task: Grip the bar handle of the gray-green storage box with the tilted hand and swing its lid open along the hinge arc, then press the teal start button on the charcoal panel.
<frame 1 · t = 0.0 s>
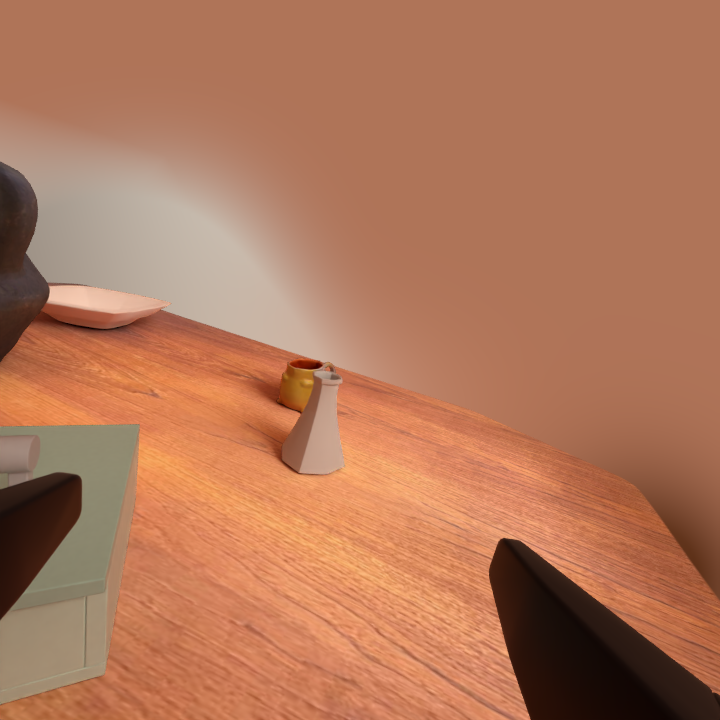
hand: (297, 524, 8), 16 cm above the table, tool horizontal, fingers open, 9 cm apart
mug: (310, 402, 57), on the table
bowl: (96, 325, 74), on the table
flask: (312, 460, 40), on the table
gray-green storage box: (3, 585, 20), on the table
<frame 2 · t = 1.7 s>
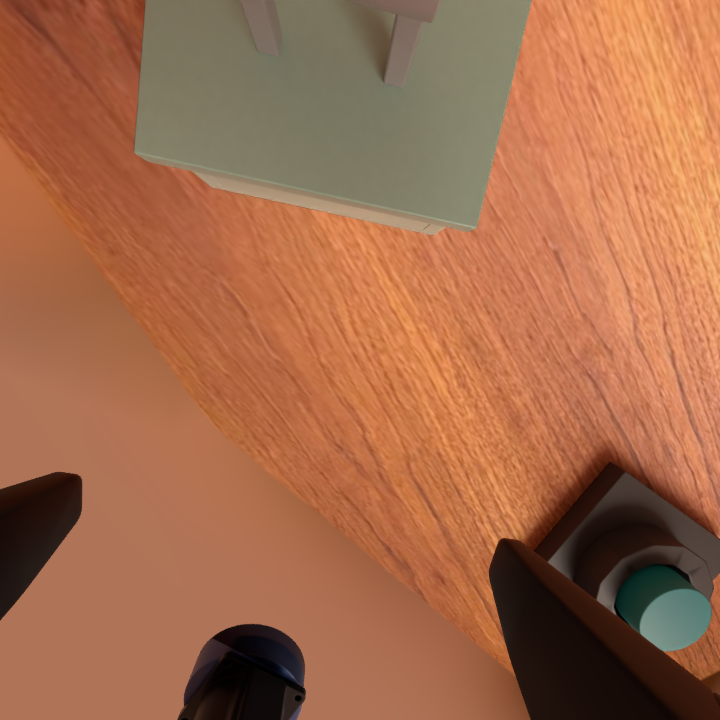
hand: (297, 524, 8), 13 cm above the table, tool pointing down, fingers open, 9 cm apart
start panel: (614, 560, 23), on the table
gray-green storage box: (350, 65, 17), on the table
start button: (661, 606, 20), point 3 cm above the table, slide at 0.1 cm
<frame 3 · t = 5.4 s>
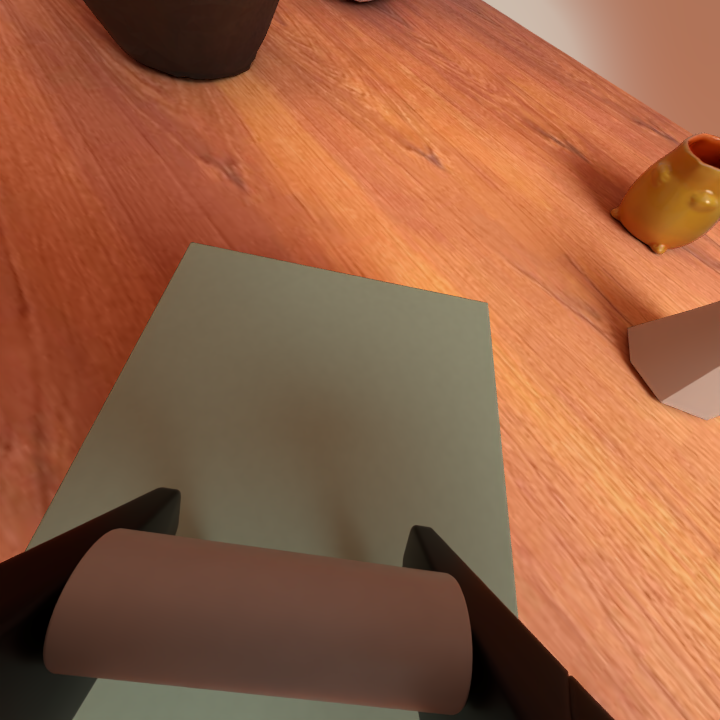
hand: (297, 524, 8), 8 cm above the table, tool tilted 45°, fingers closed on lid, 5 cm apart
mug: (662, 224, 32), on the table
lid: (312, 437, 8), point 9 cm above the table, hinge at 0.0°, touching gripper
flask: (673, 370, 23), on the table
pitcher: (203, 60, 34), on the table
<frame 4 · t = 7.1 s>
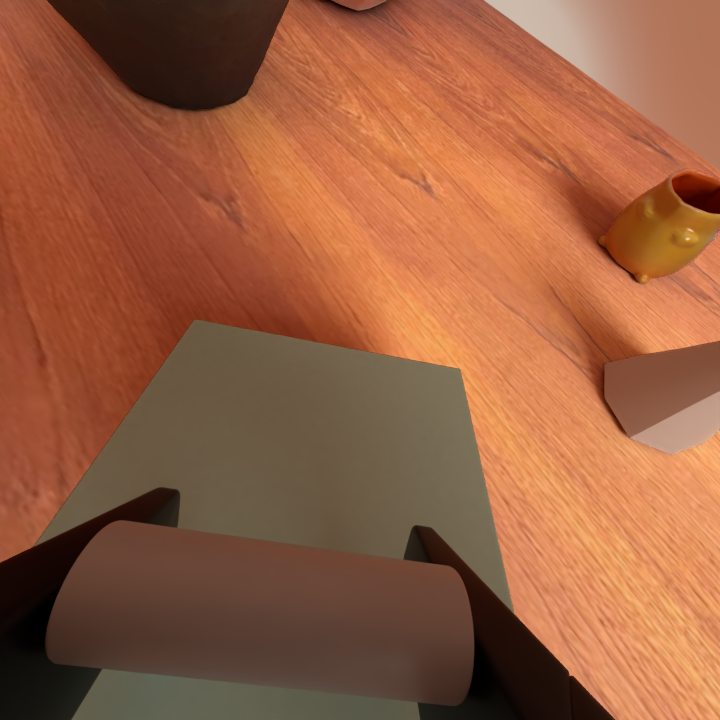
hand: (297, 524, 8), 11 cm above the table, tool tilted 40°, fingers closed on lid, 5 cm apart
mug: (649, 250, 33), on the table
lid: (306, 471, 9), point 11 cm above the table, hinge at 19.6°, touching gripper
flask: (645, 404, 25), on the table
pitcher: (202, 85, 34), on the table
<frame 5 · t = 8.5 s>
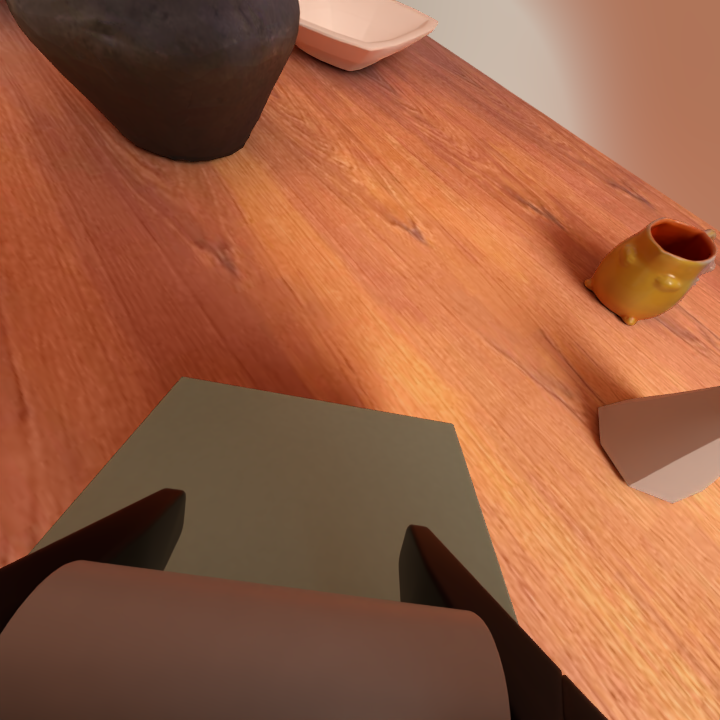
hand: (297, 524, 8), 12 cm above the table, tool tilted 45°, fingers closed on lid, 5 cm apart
mug: (634, 292, 34), on the table
lid: (297, 523, 8), point 12 cm above the table, hinge at 27.3°, touching gripper
bowl: (340, 59, 53), on the table
flask: (641, 449, 25), on the table
pitcher: (200, 138, 36), on the table
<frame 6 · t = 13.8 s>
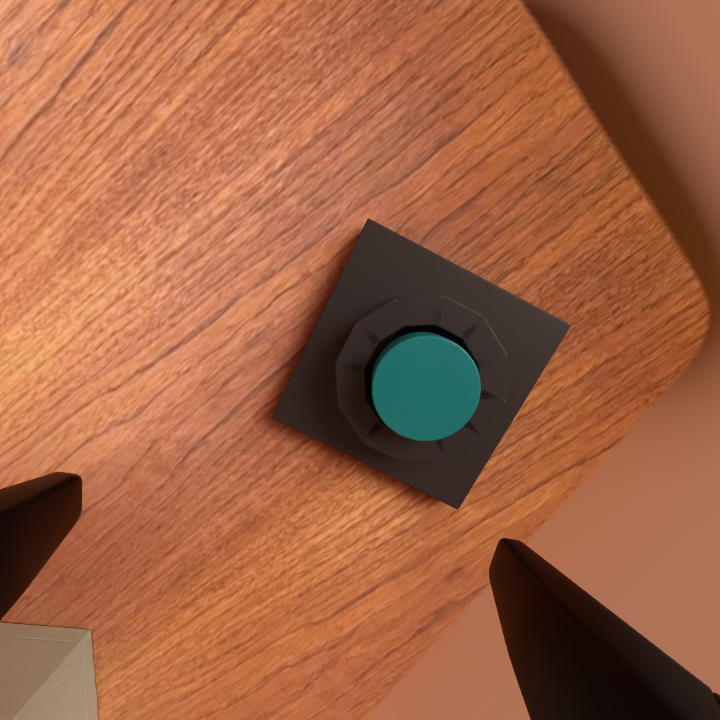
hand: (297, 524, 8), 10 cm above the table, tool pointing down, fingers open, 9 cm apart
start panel: (413, 368, 17), on the table
start button: (422, 384, 14), point 3 cm above the table, slide at 0.1 cm
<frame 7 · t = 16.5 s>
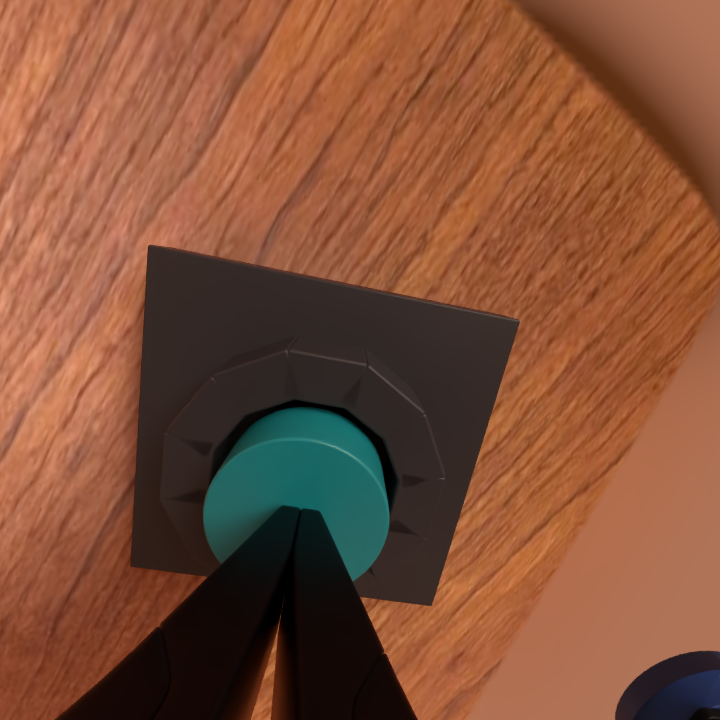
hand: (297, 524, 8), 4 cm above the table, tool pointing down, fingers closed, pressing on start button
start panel: (314, 434, 12), on the table
start button: (301, 498, 8), point 3 cm above the table, slide at 0.0 cm, touching gripper
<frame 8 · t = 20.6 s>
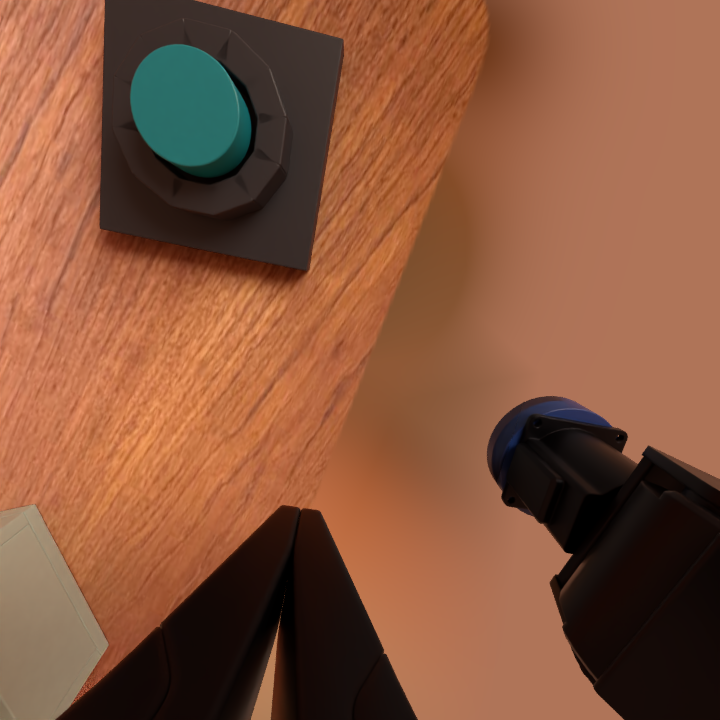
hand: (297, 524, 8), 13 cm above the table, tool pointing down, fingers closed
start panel: (224, 147, 17), on the table
start button: (194, 117, 14), point 3 cm above the table, slide at 0.1 cm
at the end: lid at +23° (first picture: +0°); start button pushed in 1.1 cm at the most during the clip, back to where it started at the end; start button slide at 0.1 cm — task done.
